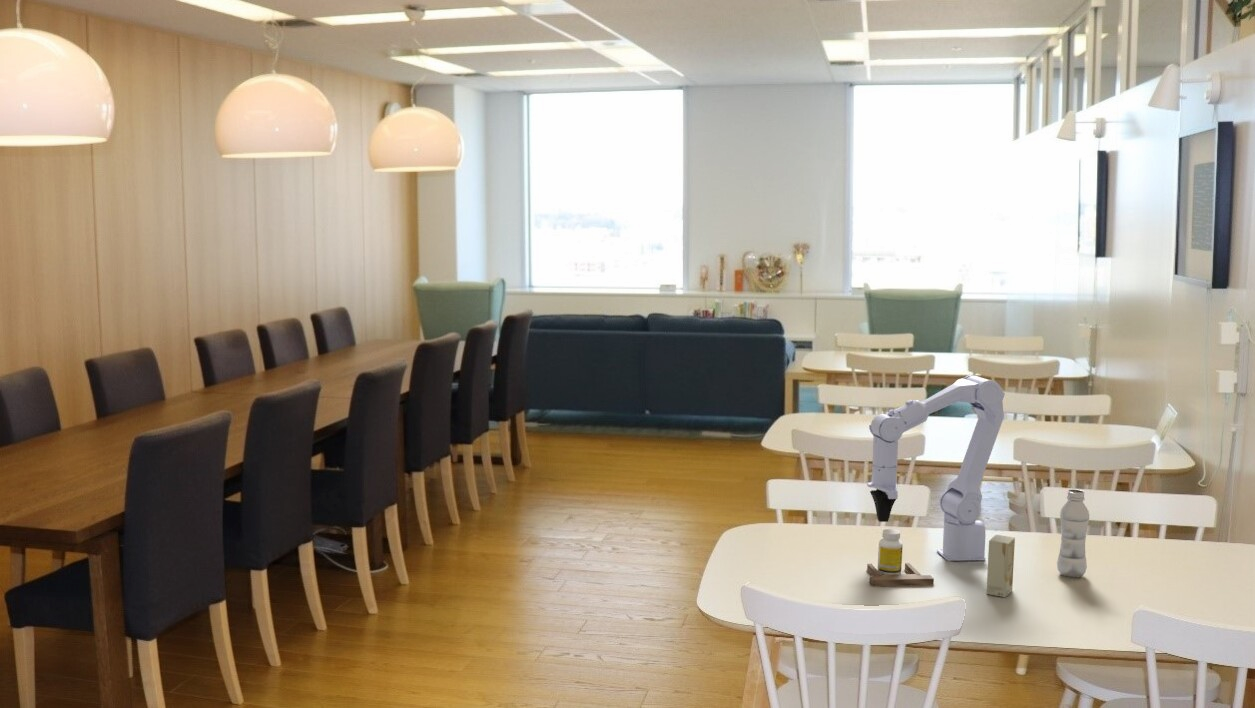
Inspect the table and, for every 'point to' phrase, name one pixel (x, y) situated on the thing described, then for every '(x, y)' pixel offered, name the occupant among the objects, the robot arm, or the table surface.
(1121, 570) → the table surface
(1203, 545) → the table surface
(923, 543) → the table surface
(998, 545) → the skincare box
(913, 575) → the wooden bracket frame
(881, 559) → the supplement bottle
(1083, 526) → the plastic bottle
